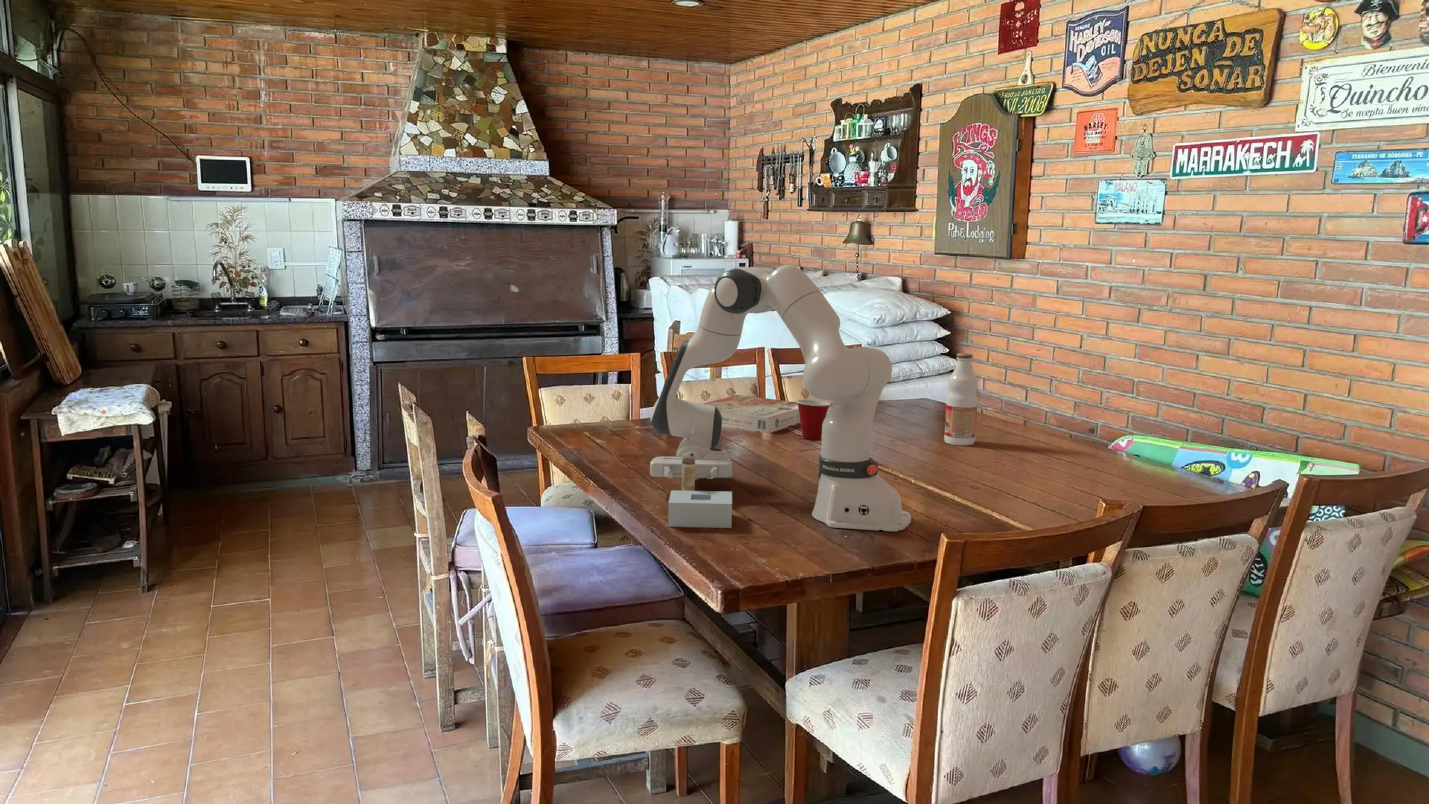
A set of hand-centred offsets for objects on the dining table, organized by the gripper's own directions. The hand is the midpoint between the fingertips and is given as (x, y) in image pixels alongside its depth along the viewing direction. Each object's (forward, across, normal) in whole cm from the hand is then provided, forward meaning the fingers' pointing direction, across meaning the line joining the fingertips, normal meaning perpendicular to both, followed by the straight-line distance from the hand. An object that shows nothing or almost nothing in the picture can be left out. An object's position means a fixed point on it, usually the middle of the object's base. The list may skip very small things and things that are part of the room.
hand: (689, 475), depth 231 cm
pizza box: (-104, +17, +7) cm, 105 cm away
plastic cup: (-76, +35, +7) cm, 84 cm away
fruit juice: (-73, +81, +7) cm, 109 cm away
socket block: (+14, +3, +7) cm, 16 cm away
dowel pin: (+5, 0, +7) cm, 9 cm away
